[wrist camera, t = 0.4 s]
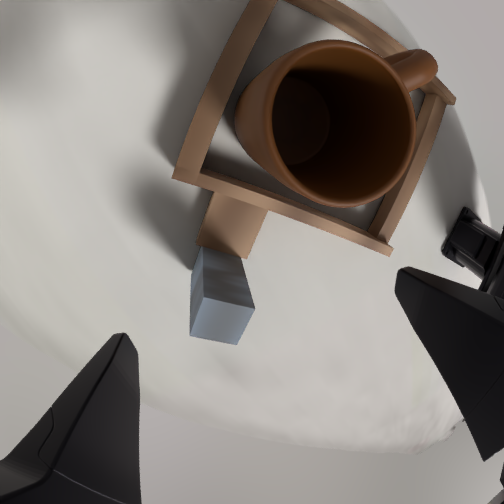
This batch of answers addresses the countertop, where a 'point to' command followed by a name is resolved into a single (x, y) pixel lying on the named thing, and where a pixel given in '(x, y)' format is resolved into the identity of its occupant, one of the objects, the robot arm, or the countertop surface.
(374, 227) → the brown frame with handle
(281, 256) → the countertop surface
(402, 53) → the mug
